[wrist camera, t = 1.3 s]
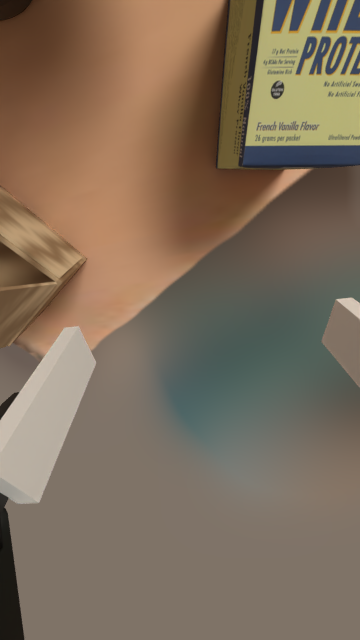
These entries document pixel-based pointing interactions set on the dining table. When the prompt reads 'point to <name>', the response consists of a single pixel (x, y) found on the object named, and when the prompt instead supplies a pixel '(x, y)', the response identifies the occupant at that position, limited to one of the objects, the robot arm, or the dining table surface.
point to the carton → (32, 253)
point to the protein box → (290, 85)
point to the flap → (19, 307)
